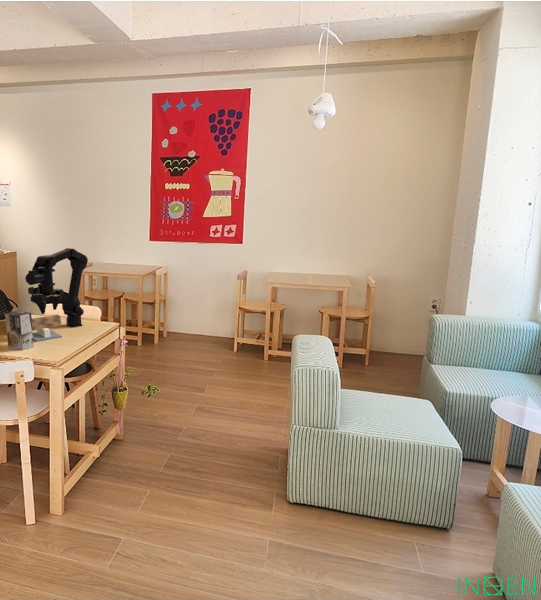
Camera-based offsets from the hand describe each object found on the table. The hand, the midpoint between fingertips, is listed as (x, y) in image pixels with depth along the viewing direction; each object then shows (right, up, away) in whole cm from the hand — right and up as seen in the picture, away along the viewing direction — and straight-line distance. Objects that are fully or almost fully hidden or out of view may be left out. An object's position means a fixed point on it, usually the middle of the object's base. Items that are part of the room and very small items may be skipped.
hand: (49, 311), depth 222 cm
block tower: (-22, -9, +12) cm, 27 cm away
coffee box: (-3, -16, -19) cm, 25 cm away
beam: (-1, -8, -3) cm, 8 cm away
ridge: (-2, -12, -2) cm, 12 cm away
